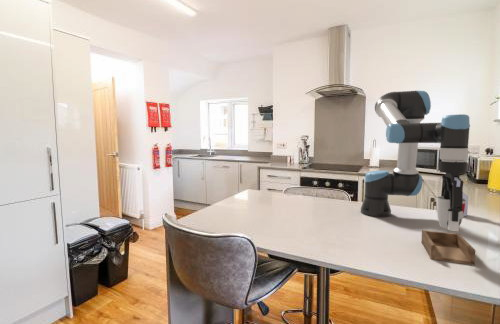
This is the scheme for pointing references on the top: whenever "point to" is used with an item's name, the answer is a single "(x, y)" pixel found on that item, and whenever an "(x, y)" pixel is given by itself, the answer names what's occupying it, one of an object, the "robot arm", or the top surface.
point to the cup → (446, 211)
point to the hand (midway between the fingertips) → (449, 226)
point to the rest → (448, 247)
